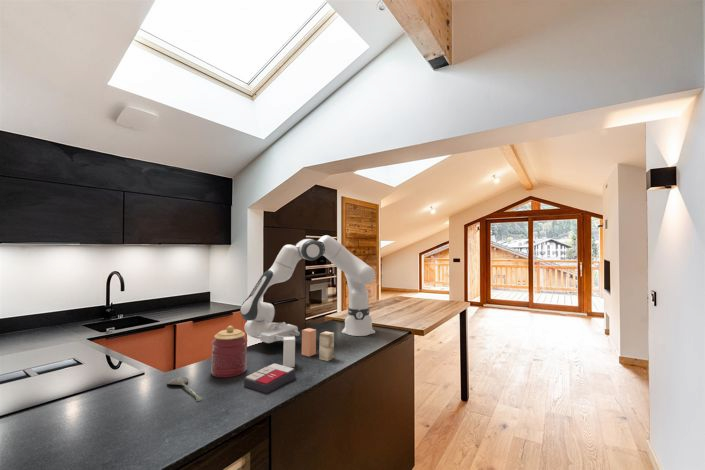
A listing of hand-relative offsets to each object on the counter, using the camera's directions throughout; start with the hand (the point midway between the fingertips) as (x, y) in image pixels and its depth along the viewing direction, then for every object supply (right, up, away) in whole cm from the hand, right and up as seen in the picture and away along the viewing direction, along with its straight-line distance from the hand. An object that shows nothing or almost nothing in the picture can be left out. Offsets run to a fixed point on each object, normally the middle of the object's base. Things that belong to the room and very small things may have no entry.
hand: (292, 336), depth 155 cm
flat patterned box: (-1, -6, -36) cm, 37 cm away
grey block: (+2, -6, -20) cm, 21 cm away
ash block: (+17, -6, -11) cm, 21 cm away
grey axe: (-28, -6, -44) cm, 52 cm away
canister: (-19, -6, -27) cm, 34 cm away
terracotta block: (+9, -6, -6) cm, 12 cm away
